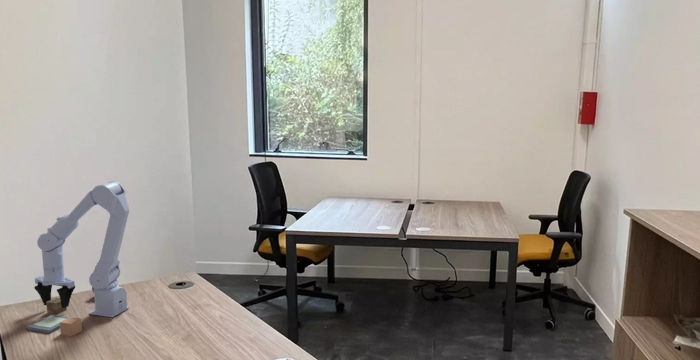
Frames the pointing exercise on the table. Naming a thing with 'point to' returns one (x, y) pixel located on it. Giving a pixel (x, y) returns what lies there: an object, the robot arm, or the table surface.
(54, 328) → the baseplate
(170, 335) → the table surface
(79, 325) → the terracotta cube
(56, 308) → the brass cube
